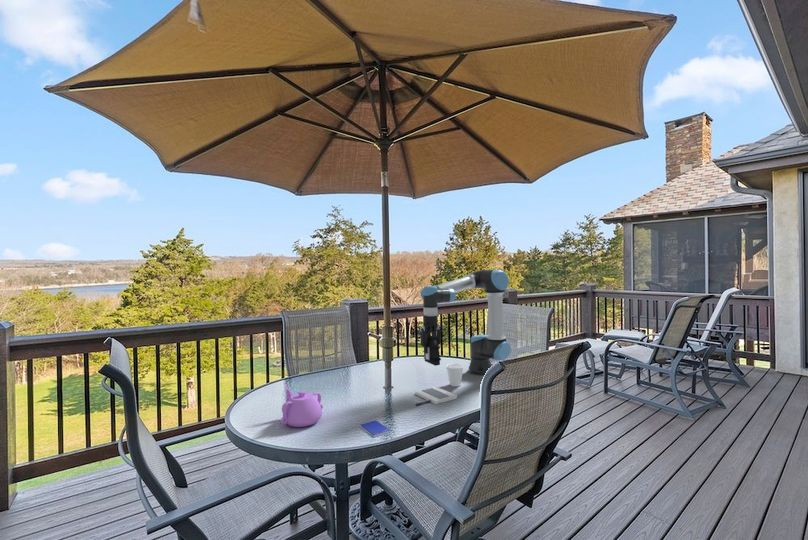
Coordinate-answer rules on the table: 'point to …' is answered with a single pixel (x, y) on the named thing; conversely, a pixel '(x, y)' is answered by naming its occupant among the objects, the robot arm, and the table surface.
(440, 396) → the charging pad
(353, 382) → the table surface
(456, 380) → the cup
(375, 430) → the hard drive
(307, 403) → the teapot
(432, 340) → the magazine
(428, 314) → the robot arm
